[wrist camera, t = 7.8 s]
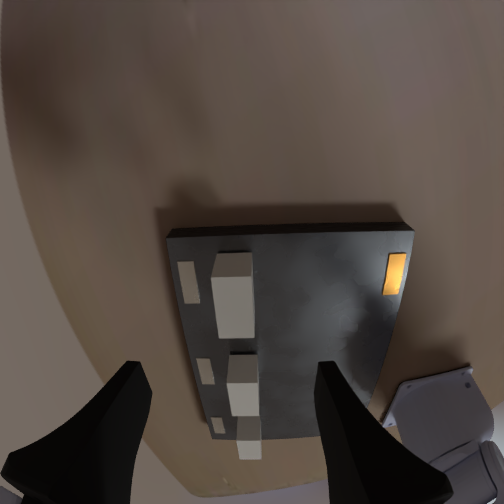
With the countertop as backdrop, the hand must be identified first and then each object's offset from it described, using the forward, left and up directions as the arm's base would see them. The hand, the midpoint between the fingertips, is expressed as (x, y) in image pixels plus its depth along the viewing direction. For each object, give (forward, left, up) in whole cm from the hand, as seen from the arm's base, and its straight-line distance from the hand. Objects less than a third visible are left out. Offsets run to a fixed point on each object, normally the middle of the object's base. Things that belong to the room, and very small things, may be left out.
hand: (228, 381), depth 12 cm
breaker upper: (0, +16, -8) cm, 18 cm away
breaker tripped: (0, 0, -8) cm, 8 cm away
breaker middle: (0, +8, -8) cm, 11 cm away
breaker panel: (-3, +8, -9) cm, 13 cm away
